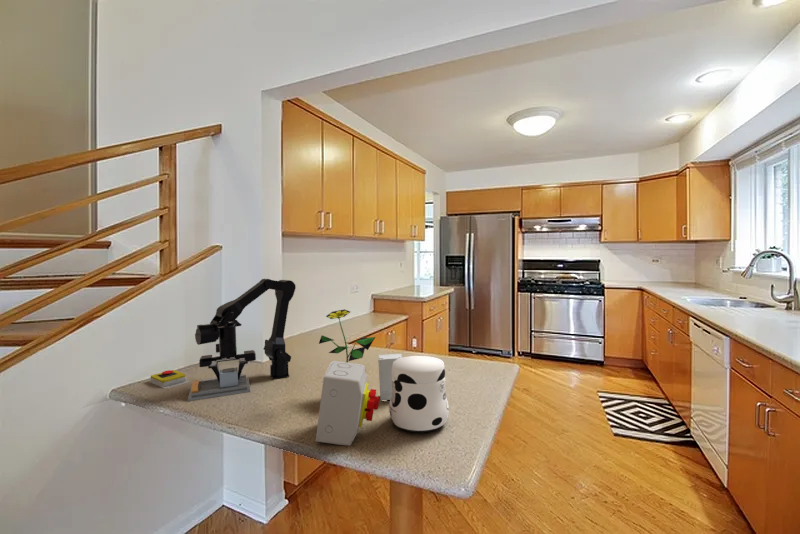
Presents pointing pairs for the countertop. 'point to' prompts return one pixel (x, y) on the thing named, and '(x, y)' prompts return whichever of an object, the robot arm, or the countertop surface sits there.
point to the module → (228, 377)
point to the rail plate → (216, 388)
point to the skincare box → (386, 374)
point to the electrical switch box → (344, 403)
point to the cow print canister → (418, 394)
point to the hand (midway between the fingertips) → (229, 381)
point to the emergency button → (168, 379)
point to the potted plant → (354, 353)
